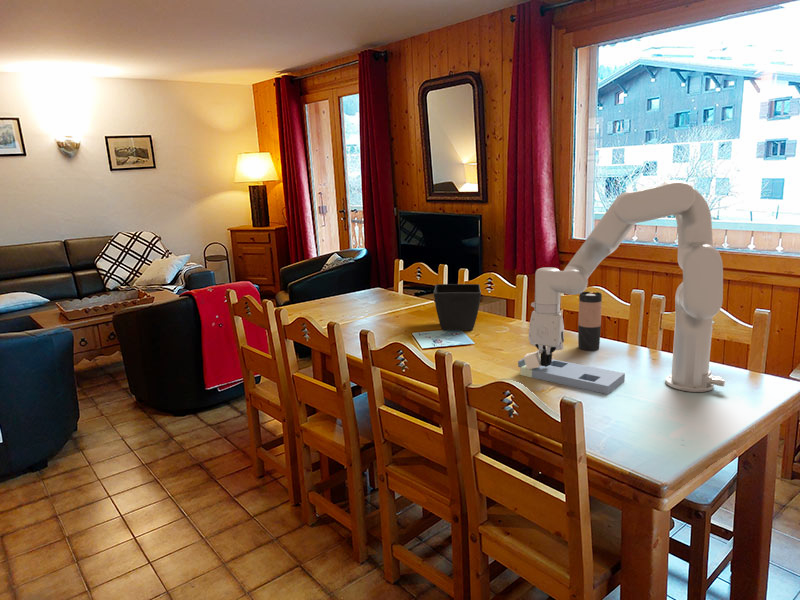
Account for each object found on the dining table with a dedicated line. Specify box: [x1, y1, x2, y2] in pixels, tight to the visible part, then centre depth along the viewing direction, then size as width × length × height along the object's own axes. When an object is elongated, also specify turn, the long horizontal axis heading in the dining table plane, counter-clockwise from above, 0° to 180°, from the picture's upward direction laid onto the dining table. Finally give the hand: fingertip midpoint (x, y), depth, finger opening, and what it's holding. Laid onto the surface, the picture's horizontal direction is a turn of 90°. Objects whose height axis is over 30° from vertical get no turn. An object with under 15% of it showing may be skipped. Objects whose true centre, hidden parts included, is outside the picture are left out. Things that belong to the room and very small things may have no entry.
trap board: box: [517, 350, 626, 395], centre depth 175 cm, size 29×13×4 cm, turn 49°
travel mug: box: [577, 291, 603, 352], centre depth 202 cm, size 8×8×20 cm
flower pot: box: [433, 283, 482, 331], centre depth 237 cm, size 19×19×17 cm
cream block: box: [523, 350, 541, 370], centre depth 178 cm, size 4×4×4 cm
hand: (546, 365), depth 177 cm, fingers closed
